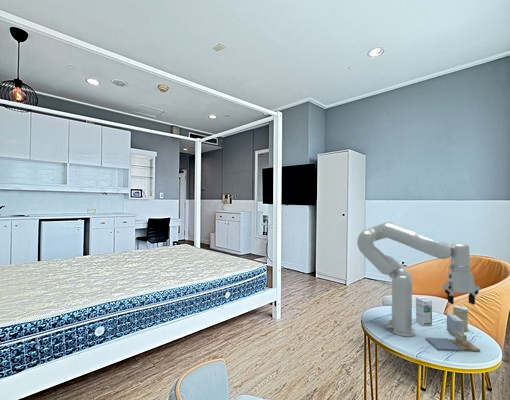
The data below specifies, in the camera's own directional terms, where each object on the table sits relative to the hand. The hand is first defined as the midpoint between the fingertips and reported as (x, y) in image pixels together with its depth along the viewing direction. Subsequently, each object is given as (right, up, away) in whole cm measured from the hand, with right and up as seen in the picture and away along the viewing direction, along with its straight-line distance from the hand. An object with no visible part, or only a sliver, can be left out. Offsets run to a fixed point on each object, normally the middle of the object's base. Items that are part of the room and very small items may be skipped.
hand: (461, 303), depth 129 cm
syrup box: (-4, -21, +23) cm, 31 cm away
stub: (0, -20, -2) cm, 20 cm away
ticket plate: (-10, -20, -1) cm, 22 cm away
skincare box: (+13, -21, +17) cm, 30 cm away
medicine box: (+5, -21, +11) cm, 24 cm away
